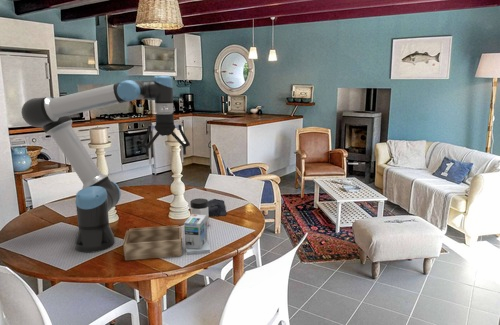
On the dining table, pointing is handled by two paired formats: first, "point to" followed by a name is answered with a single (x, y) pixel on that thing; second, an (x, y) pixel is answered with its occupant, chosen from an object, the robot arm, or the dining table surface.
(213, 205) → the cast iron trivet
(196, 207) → the jar
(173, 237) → the carton
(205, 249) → the tile
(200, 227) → the light bulb box
